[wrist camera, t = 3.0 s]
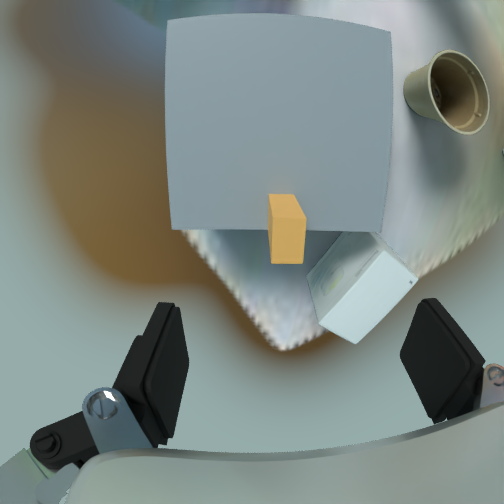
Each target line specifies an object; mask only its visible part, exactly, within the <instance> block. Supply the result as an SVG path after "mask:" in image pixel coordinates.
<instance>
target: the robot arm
mask: <svg viewBox="0 0 504 504" xmlns="http://www.w3.org/2000/svg"><path fill="white" fill-rule="evenodd" d="M400 359H401V361H402V363H403V365H404V366H405V369H406V371H407V373H408V375H409V377H410V379H411V381H412V383H413V385H414V387H415V389H416V391H417V393H418V395H419V397H420V400H421V402H422V404H423V406H424V408H425V410H426V412H427V415H428V417H429V418H432V421H433V423H434V424H436V423H439V422H442V421H444V420H445V419H446V418H447V420H448V421H445V422H442V423H439V424H436V425H433V426H430V427H426V428H423V429H420V430H416V431H412V432H409V433H405V434H401V435H397V436H393V437H389V438H385V439H380V440H375V441H371V442H365V443H360V444H354V445H348V446H341V447H335V448H326V449H317V450H308V451H295V452H278V453H277V452H275V453H227V452H225V453H224V452H206V451H193V450H177V449H165V448H164V449H163V448H158V444H162V445H167V440H168V438H173V435H174V431H175V426H176V422H177V417H178V412H179V407H180V403H181V399H182V394H183V390H184V386H185V381H186V377H187V373H188V368H189V357H188V352H187V346H186V341H185V335H184V330H183V324H182V318H181V312H180V308H179V307H175V304H174V303H166V302H159V303H158V304H157V306H156V308H155V310H154V312H153V314H152V316H151V319H150V321H149V323H148V325H147V327H146V329H145V331H144V333H143V336H141V335H138V336H136V338H135V339H134V341H133V343H132V346H131V348H130V350H129V352H128V354H127V356H126V359H125V361H124V363H123V365H122V367H121V369H120V371H119V374H118V376H117V378H116V381H115V383H114V385H113V387H112V388H103V387H102V388H98V389H95V390H94V391H92V392H90V393H89V394H88V395H87V396H86V397H85V399H84V401H83V404H82V410H83V411H81V412H79V413H76V414H74V415H72V416H70V417H67V418H65V419H63V420H60V421H58V422H55V423H53V424H51V425H48V426H46V427H43V428H41V429H39V430H38V431H36V432H35V433H34V434H33V436H32V438H31V440H30V448H29V449H28V450H26V449H25V448H23V449H22V450H21V451H20V452H19V453H17V454H16V455H15V456H13V457H12V458H11V459H10V460H8V461H7V462H6V463H5V464H3V465H2V466H1V467H0V504H59V502H60V500H61V499H62V498H63V497H64V496H65V495H66V494H67V493H66V491H67V490H68V489H69V488H70V487H71V488H70V491H69V493H68V496H67V498H66V501H65V504H504V367H502V366H500V365H498V364H489V365H487V366H486V368H485V369H484V368H483V367H482V366H483V364H484V363H485V359H484V358H483V357H482V355H481V354H480V353H479V351H478V350H477V349H476V347H475V346H474V344H473V343H472V342H471V340H470V339H469V338H468V337H467V335H466V334H465V333H464V331H463V330H462V329H461V328H460V327H459V325H458V324H457V323H456V321H455V320H454V319H453V318H452V317H451V315H450V314H449V313H448V312H447V311H446V309H445V308H444V307H443V306H442V305H441V303H440V302H439V301H438V300H437V299H436V298H428V299H423V300H422V301H421V303H419V304H418V306H417V309H416V312H415V314H414V317H413V320H412V323H411V326H410V328H409V331H408V334H407V336H406V339H405V341H404V344H403V346H402V349H401V351H400Z"/></svg>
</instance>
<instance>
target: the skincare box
mask: <svg viewBox="0 0 504 504" xmlns="http://www.w3.org/2000/svg"><path fill="white" fill-rule="evenodd" d="M306 277H307V281H308V285H309V288H310V292H311V296H312V300H313V304H314V308H315V311H316V315H317V320H318V324H319V325H320V326H322V327H324V328H325V329H327V330H329V331H331V332H333V333H335V334H336V335H338V336H340V337H342V338H344V339H346V340H347V341H349V342H351V343H353V344H357V343H358V342H359V341H360V340H361V339H362V338H363V337H364V336H365V335H367V334H368V333H369V332H370V331H371V330H372V329H373V328H374V327H375V326H376V325H377V324H378V323H379V322H380V321H381V319H383V318H384V317H385V316H386V315H387V314H388V312H390V310H391V309H392V308H393V307H394V306H395V305H396V304H397V303H398V302H399V301H400V300H401V299H402V298H403V297H404V295H405V294H406V293H407V292H408V291H409V290H410V289H411V288H412V287H413V285H414V284H415V283H416V282H417V281H418V278H417V276H416V275H415V274H414V273H413V272H412V271H411V270H410V268H409V267H408V266H407V265H406V264H405V263H404V262H403V260H402V259H401V258H400V257H399V256H398V255H397V254H396V253H395V252H394V251H393V249H392V248H391V247H390V246H389V245H388V244H387V243H386V242H385V241H384V240H383V239H382V238H381V237H380V236H379V235H377V234H376V233H375V232H355V231H343V232H342V233H341V235H340V236H339V237H338V238H337V240H336V241H335V242H334V243H333V244H332V246H331V247H330V248H329V249H328V251H327V252H326V253H325V254H324V255H323V257H322V258H321V259H320V260H319V261H318V263H317V264H316V265H315V266H314V267H313V269H312V270H311V271H310V272H309V273H308V274H307V276H306Z"/></svg>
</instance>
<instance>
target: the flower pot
mask: <svg viewBox="0 0 504 504" xmlns="http://www.w3.org/2000/svg"><path fill="white" fill-rule="evenodd" d="M435 88H436V90H437V92H438V97H437V96H436V91H435ZM404 96H405V99H406V101H407V103H408V105H409V106H410V108H411V109H413V110H414V111H415V112H416V113H417V114H418V115H420V116H423V117H427V118H430V119H433V120H437V121H439V122H442V123H444V124H445V125H447V126H448V127H449V128H450V129H452V130H453V131H455V132H457V133H459V134H463V135H472V134H475V133H477V132H479V131H480V130H481V129H482V128H483V127H484V125H485V124H486V122H487V119H488V116H489V110H490V97H489V92H488V88H487V85H486V82H485V79H484V77H483V75H482V73H481V72H480V70H479V69H478V67H477V66H476V65H475V63H474V62H473V61H472V60H471V59H469V58H468V57H467V56H466V55H464V54H462V53H460V52H458V51H454V50H444V51H441V52H439V53H437V54H436V55H435V56H434V57H433V58H432V59H431V61H430V63H429V64H427V65H425V66H424V67H422V68H420V69H418V70H416V71H414V72H412V73H410V74H409V75H408V77H407V78H406V80H405V83H404Z"/></svg>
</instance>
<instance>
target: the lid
mask: <svg viewBox="0 0 504 504" xmlns="http://www.w3.org/2000/svg"><path fill="white" fill-rule="evenodd" d="M392 117H393V64H392V44H391V32H389V31H385V30H381V29H378V28H373V27H369V26H365V25H360V24H355V23H350V22H345V21H339V20H333V19H326V18H319V17H311V16H301V15H289V14H269V13H236V14H216V15H204V16H194V17H186V18H178V19H172V20H167V35H166V59H165V128H166V155H167V172H168V173H167V174H168V188H169V201H170V212H171V223H172V229H173V230H174V229H175V230H177V229H245V230H268V237H269V247H270V256H271V264H303V256H304V245H305V233H306V230H316V231H355V232H381V227H382V220H383V214H384V207H385V200H386V192H387V184H388V174H389V164H390V152H391V138H392Z"/></svg>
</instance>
